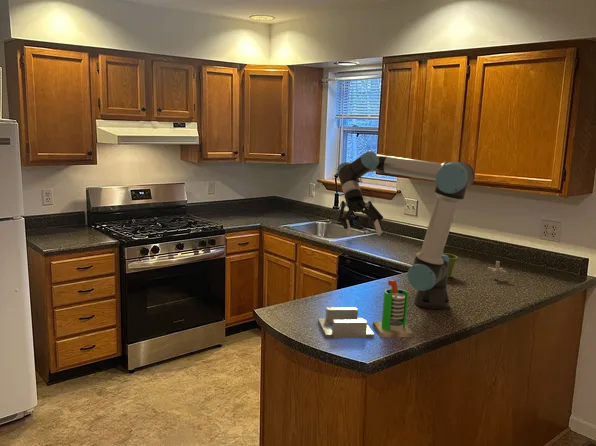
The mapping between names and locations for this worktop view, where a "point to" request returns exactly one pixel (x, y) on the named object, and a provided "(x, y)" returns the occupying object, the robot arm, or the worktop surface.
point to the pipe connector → (497, 270)
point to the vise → (344, 324)
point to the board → (384, 333)
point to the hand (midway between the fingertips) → (365, 234)
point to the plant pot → (451, 263)
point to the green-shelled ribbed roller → (394, 308)
